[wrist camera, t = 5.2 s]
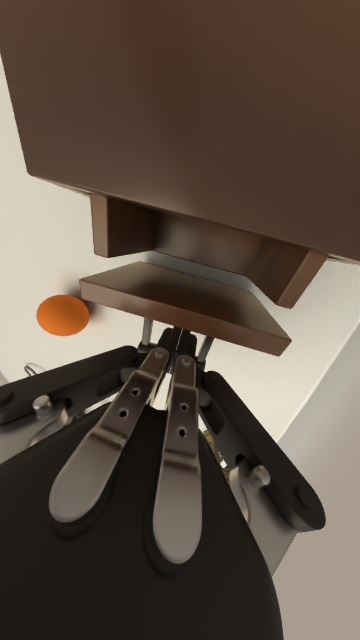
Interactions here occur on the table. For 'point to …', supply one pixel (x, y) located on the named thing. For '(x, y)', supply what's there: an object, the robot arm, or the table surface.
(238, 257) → the drawer
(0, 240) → the table surface
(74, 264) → the table surface
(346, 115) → the cabinet
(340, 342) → the table surface
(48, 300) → the ball
